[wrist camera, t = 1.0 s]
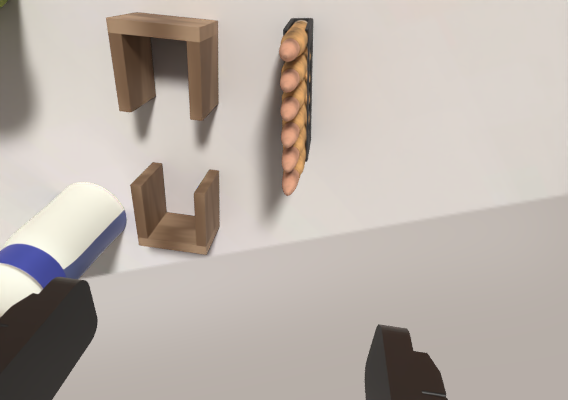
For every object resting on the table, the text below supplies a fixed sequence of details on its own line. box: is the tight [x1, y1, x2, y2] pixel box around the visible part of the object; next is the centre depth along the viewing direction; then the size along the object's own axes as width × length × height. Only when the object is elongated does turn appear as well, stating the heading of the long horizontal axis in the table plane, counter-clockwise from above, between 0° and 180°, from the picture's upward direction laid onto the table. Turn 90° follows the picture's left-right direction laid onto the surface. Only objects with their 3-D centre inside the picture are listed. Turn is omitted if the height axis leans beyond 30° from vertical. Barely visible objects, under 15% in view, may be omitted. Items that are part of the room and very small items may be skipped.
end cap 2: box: [130, 162, 219, 255], centre depth 39 cm, size 7×7×5 cm
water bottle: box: [0, 182, 126, 317], centre depth 33 cm, size 8×9×25 cm
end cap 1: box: [106, 12, 218, 121], centre depth 31 cm, size 7×7×5 cm
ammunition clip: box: [279, 18, 313, 196], centre depth 28 cm, size 11×2×12 cm, turn 1°
